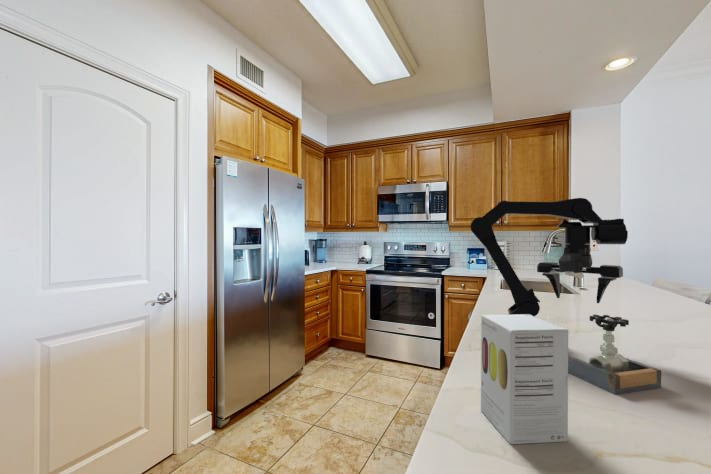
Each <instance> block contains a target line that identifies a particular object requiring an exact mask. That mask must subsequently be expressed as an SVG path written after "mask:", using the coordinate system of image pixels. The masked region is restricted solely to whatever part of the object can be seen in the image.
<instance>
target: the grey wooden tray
mask: <svg viewBox="0 0 711 474" xmlns="http://www.w3.org/2000/svg"><path fill="white" fill-rule="evenodd" d="M625 358H626V359H627V360H628V362H629V369H628V370H627V371H620V372H618V373H612V372H610V371H607V370H605V369H602V368H600V367H597V366H595V365H592V364H590V363H589V362H587V361H585V360H581V359H580V358H577V357H576V356H571V355H570V354H568V374H570V375H572V376H575V377H577V378H578V379H581V380H583V381H584V382H585V381H586V382H588V383H590V384H592V385H594V386H596V387H598V388H601V389H603V390H605V391H607V392H609V393H611V394H613V395H621V394H629V393H634V392H640V391H649V390H654V389H661V388H662V370H661V369H659V368H656V367H653V366H650V365H647V364H644V363H642V362H638V361H635V360H632V359H629V358H627V357H625Z"/></svg>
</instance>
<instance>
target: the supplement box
mask: <svg viewBox="0 0 711 474" xmlns="http://www.w3.org/2000/svg"><path fill="white" fill-rule="evenodd" d="M480 318H481V319H480V320H481V321H480V324H481V326H480V327H481V328H480V331H481V332H480V335H481V336H480V338H481V339H480V342H481V343H480V344H481V345H480V411H481V412H482V413H483V415H484V416H486V418H487V419H488V420H489V422H490V423H491V424H492V425H493V426H494V428H496V429H497V431H498V433H500V434H501V435H502V436H503V438H504V439H505V440H506V441H507V442H508V443H509V444H510V445H521V444H522V445H524V444H525V445H526V444H542V443H545V444H546V443H563V442H568V441H569V440H568V439H569V438H568V435H569V433H568V431H569V426H568V425H569V424H568V423H569V420H568V419H569V418H568V417H569V415H568V414H569V413H568V412H569V389H568V388H569V386H568V385H569V373H568V355H569V330H568V328H565V327H562V326H559V325H556V324H555V323H551V322H549V321H546V320H544V319H541V318H539V317H536V316H532V315H530V314H513V315H509V314H483V315H482V314H481V316H480Z"/></svg>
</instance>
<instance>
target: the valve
mask: <svg viewBox="0 0 711 474" xmlns="http://www.w3.org/2000/svg"><path fill="white" fill-rule="evenodd" d="M589 321H590V322H594V323H595V324H596V326H598V327H600V328H602V330H603V331H605V333H603V334H602V340H603V341H604V342H603V344H600V346H599V351H600V352H601V354H600V355H597V356H592V357H590V358H589V360H588V363H590V364H592V365H595V366H597V367H600V368H602V369H605V370H607V371H610V372H612V373H618V372H620V371H627V370H628V369H629V362H628V360H627V359H628V358H627V357H625V356H624V355H622V354H621V353H619V351H618V350H619V348H618V347H616V346H615V344H613V343H615V335H614V334H613V333H612V332H614V331H616V330H615V329H616V328H617V327H618V325H619V327H622V328H625V327H627V326H630V325H629V324H630V322H629V319H625V318H623V317H621V316H614V317H613V316H610V315H609V314H603V315H599V314H592V315H589ZM626 358H627V359H626Z"/></svg>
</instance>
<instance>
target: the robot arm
mask: <svg viewBox="0 0 711 474" xmlns="http://www.w3.org/2000/svg"><path fill="white" fill-rule="evenodd" d="M505 215H517V216H518V215H522V216H524V215H527V216H528V215H529V216H551V217H555V218H559V219H562V221H561V222H560V223H559V224H557V225H556V228H557V229H564V247H563V252H562V253H563V254H562V255H561V256H560V257H559V259H558V262H554V261H542V262H541V261H540V262H539V263H538V264H537V266H536V270H537V271H536V272H537V273H542V276H545V277H546V278H547V279H548V280H549V282H550V284H551V286H552V290H553V291H554V293H555V296H556V298H557V299H561V283H560V282H561V280H560V278H561V277H560V276H561V275H560V273H559V272H561V273H574V274H579V273H580V274H582V273H583V274H594V275H595V274H597V275H600V277H598V278H597V283H598V285H597V290H596V291H597V292H596V304H600V303H601V300H602V298H603V296H604V293H605V292H606V289H607V287H608V286H609V285H610V283H611V282H612V281H616V280H617V279H621V278H622V277H624V269H623V267H622V266H621V265H615V264H613V265H611V264H610V265H609V264H601V265H600V266H593V258H592V257H593V256H592V255H591V251H592V250H591V240H592V241H595V243H596V244H597V245H625V244H626V243H627V241H628V237H629V236H628V235H629V234H628V232H629V231H628V230H627V226H626V224H625V222H624V221H625V220H624V218H615V219H614V218H613V219H602V218H601V217H600V216H599V215H598V214H597V213H596V212H595V211H594V210H593V205H592V202H591V201H590V200H588V199H587V198H584V197H576V198H570V199H561V200H556V201H510V200H509V201H507V200H501V201H499V202H498V203H497V204H496V205H495V206H494V207H493V208H491V209H490V210H489V211H488V212H486V213H485V214H484V215H483V216H478V217H475V218H474V219H473V220H472V221H471V223H470V230H471V232H472V233H473V235H474V236H475V237H476V239H478V240H479V242H480V243H481V244H482V245H483V246H484V247H485V249H486V250H487V252H488V254H489V255H490V257H491V259H492V261H493V262H494V264H495V266H496V268H497V269H498V271H499V273H500V275H501V276H502V278H503V280H504V281H505V283H506V285H507V286H508V287H509V291H510V292H511V296H512V298H513V302H514V303H513V305H512V306H510V307H509V308H507V313H508V315H513V314H530V315H532V316H534V317H536V316H537V315H538V314H539V313H540V309H541V307H540V302H541V301H540V299H539V298H538V297H537V296H536V295H535V292H534V289H533V287H532V286H531V285H528V286H527V287H525V285H524V284H523V283H522V282H521V280H520V279H519V276H518V275H517V273H516V271H515V270H514V268H513V266H512V265H511V263H510V262H509V259H508V258H507V256H506V255H505V253H504V251H503V250H502V248H501V246H500V245H499V243H498V241H497V238H496V234H495V232H494V229H493V226H494V225H495V224H496V223H497V222H498V221H499V220H501V219H502V218H503V217H504V216H505ZM568 220H571V221H568ZM582 223H583V225H582ZM584 224H591V225H584Z"/></svg>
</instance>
